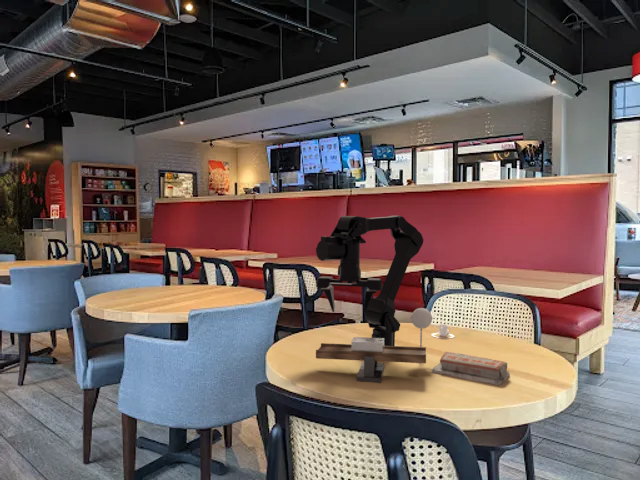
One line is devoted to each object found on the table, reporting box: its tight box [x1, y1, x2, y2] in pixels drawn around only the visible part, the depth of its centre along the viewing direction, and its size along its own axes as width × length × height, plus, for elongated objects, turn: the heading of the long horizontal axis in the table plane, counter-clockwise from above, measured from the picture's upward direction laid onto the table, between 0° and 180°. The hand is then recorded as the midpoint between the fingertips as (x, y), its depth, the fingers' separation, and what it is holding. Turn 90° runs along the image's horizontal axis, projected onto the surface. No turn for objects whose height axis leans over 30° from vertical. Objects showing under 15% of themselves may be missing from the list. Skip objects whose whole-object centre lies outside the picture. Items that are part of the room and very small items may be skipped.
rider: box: [351, 336, 384, 352], centre depth 130 cm, size 8×5×3 cm, turn 78°
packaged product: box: [431, 351, 511, 387], centre depth 132 cm, size 18×5×10 cm
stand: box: [356, 355, 385, 383], centre depth 131 cm, size 6×13×6 cm, turn 169°
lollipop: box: [410, 307, 433, 347], centre depth 144 cm, size 6×6×15 cm
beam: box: [315, 342, 427, 364], centre depth 131 cm, size 28×8×2 cm, turn 79°
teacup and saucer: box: [430, 323, 455, 340], centre depth 173 cm, size 9×8×4 cm
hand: (349, 312), depth 146 cm, fingers open, 9 cm apart
